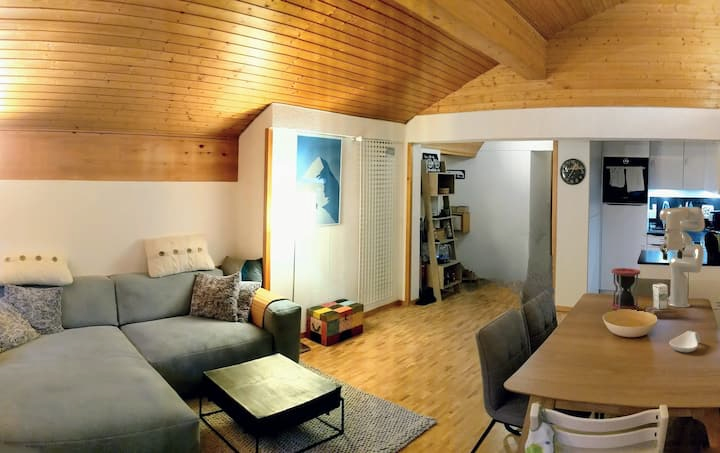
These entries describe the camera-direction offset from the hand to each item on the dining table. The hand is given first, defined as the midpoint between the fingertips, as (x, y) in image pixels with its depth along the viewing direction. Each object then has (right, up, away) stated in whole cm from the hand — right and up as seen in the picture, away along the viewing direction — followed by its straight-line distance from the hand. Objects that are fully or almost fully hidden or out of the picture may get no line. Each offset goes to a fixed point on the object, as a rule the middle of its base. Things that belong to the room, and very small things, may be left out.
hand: (672, 259), depth 319 cm
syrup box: (-9, -29, -3) cm, 31 cm away
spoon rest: (-28, -40, -60) cm, 77 cm away
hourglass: (-21, -33, +16) cm, 42 cm away
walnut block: (-9, -35, -2) cm, 36 cm away
